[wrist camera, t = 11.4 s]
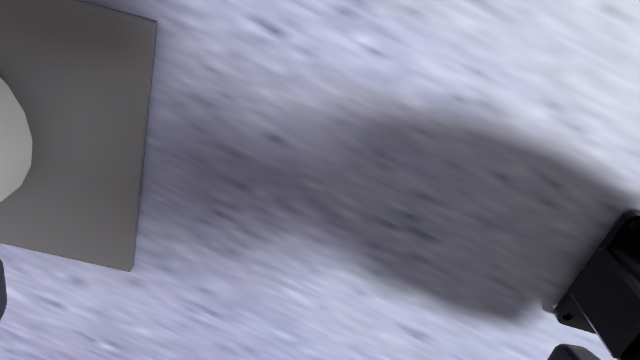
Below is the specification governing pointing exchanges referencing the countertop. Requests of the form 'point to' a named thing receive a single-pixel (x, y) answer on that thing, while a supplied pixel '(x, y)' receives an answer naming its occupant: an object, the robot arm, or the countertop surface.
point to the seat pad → (78, 126)
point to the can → (13, 143)
